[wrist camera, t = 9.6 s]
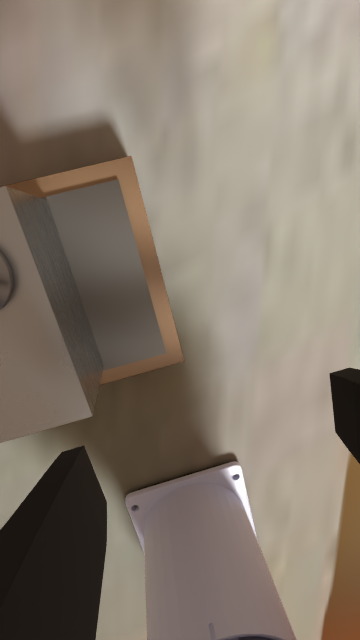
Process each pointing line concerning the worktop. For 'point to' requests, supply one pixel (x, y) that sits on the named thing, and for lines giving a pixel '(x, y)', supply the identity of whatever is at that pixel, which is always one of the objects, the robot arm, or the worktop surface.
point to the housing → (41, 325)
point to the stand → (113, 264)
